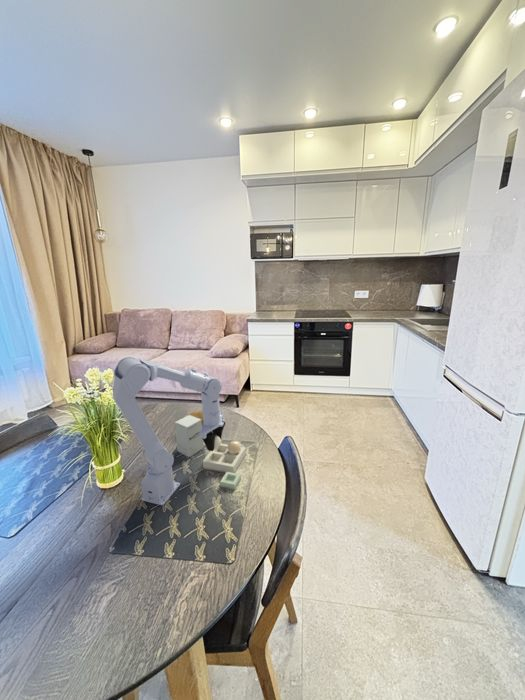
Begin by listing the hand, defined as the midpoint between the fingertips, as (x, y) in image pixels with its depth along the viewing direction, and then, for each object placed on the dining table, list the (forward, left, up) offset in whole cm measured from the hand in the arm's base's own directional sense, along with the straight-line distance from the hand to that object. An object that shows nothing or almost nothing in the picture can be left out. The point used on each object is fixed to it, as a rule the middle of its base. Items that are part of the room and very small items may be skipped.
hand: (214, 445), depth 104 cm
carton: (+3, -3, -8) cm, 8 cm away
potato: (+21, +16, -8) cm, 27 cm away
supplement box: (+6, +13, -8) cm, 16 cm away
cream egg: (0, 0, +2) cm, 2 cm away
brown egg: (+5, -5, -3) cm, 8 cm away
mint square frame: (-7, -9, -8) cm, 14 cm away
